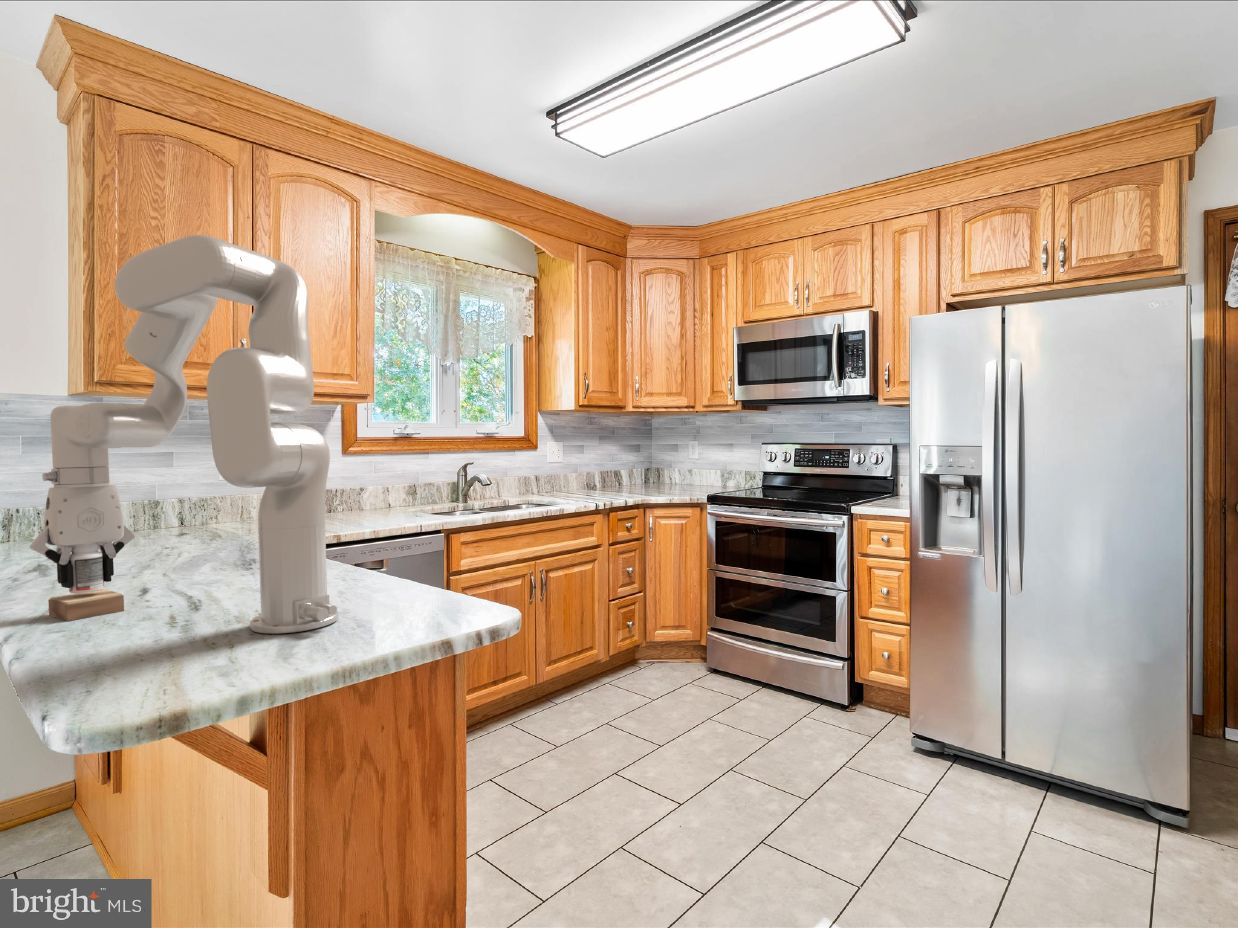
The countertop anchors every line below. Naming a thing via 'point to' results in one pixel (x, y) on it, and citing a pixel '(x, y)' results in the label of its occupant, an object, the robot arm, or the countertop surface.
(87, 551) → the pill bottle
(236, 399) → the robot arm
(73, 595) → the walnut stand
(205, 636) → the countertop surface
